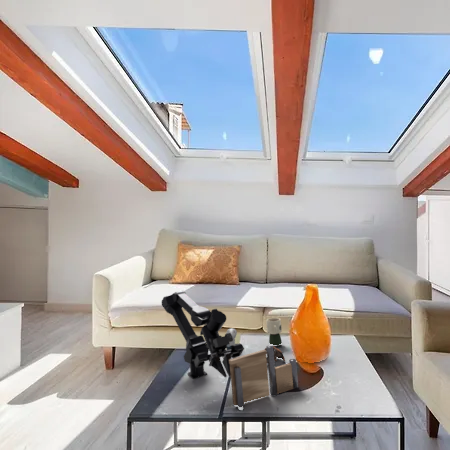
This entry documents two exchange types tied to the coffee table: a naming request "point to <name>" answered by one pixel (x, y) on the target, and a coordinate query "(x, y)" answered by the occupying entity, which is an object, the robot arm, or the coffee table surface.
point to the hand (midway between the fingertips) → (228, 376)
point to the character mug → (274, 330)
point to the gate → (251, 376)
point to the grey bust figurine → (233, 333)
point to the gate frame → (272, 377)
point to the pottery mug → (276, 354)
